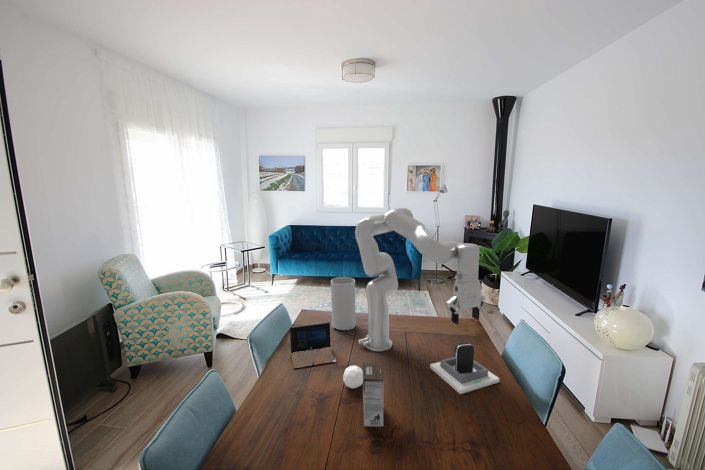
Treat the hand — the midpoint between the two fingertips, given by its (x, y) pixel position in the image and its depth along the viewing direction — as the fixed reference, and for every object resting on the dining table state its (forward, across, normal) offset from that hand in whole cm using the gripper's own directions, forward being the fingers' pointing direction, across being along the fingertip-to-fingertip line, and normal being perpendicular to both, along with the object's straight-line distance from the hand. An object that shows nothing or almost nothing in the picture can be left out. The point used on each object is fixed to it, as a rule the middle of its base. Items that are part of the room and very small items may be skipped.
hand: (465, 320), depth 121 cm
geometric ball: (+22, -42, +10) cm, 49 cm away
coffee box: (+22, -42, -7) cm, 48 cm away
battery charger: (+21, 0, 0) cm, 21 cm away
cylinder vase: (+23, -28, +59) cm, 69 cm away
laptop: (+23, -51, +34) cm, 66 cm away
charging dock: (+22, 0, 0) cm, 22 cm away
